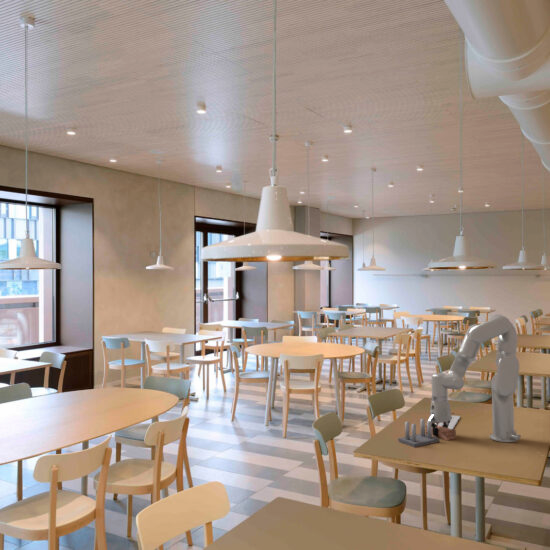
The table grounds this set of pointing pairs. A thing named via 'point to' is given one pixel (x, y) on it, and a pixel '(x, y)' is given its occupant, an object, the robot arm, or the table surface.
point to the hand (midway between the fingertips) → (440, 434)
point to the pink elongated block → (444, 433)
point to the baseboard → (452, 421)
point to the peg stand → (418, 435)
